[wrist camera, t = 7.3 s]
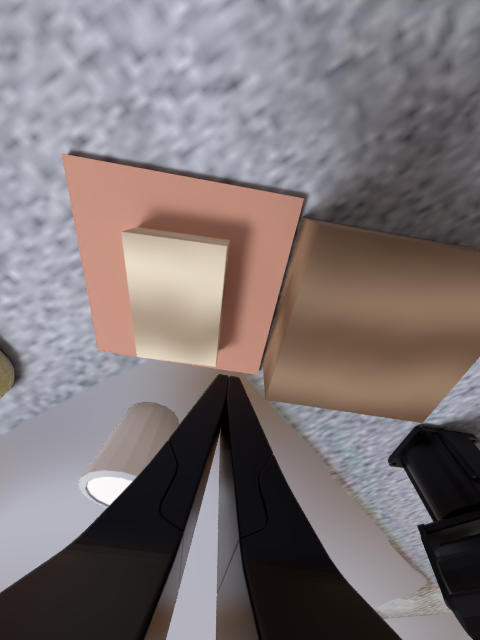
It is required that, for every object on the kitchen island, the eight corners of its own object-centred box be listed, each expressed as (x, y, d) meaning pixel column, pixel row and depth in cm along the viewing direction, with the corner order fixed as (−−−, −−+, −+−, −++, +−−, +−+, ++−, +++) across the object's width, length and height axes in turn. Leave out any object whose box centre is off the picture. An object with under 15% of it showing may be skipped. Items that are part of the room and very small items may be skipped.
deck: (393, 383, 20) (422, 422, 17) (262, 363, 20) (265, 399, 17) (483, 249, 15) (556, 267, 11) (302, 217, 14) (319, 224, 11)
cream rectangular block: (136, 356, 17) (147, 341, 19) (215, 366, 17) (218, 350, 19) (121, 231, 13) (136, 227, 14) (226, 246, 13) (229, 239, 15)
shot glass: (196, 418, 24) (178, 494, 18) (165, 446, 27) (139, 521, 21) (138, 387, 22) (95, 461, 16) (110, 421, 25) (65, 495, 19)
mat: (257, 371, 20) (257, 374, 20) (100, 347, 20) (98, 350, 20) (302, 198, 14) (304, 198, 13) (66, 154, 13) (61, 153, 13)
